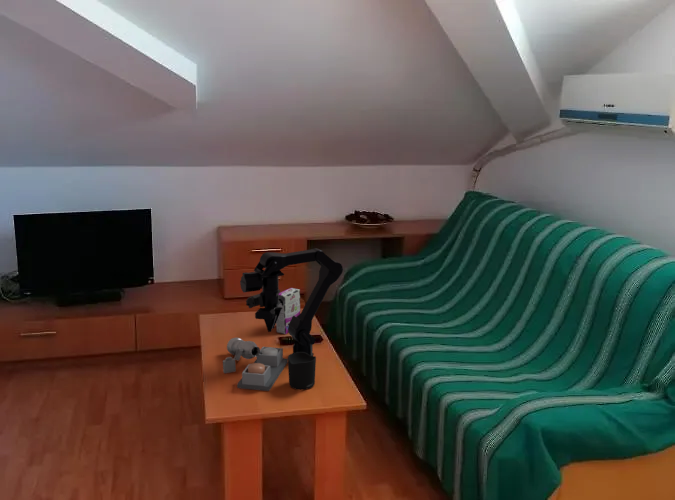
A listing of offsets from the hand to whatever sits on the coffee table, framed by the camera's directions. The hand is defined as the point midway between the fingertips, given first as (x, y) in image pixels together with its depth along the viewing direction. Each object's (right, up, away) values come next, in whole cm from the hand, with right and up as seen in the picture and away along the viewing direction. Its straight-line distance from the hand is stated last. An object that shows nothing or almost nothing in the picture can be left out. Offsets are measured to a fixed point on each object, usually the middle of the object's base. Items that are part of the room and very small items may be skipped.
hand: (271, 329), depth 244 cm
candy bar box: (+3, -4, +37) cm, 38 cm away
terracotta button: (-4, -14, -15) cm, 21 cm away
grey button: (-1, -11, +1) cm, 11 cm away
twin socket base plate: (-2, -15, -6) cm, 16 cm away
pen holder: (+12, -17, -14) cm, 25 cm away
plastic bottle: (-16, -7, +12) cm, 21 cm away
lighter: (-13, -14, -3) cm, 20 cm away
